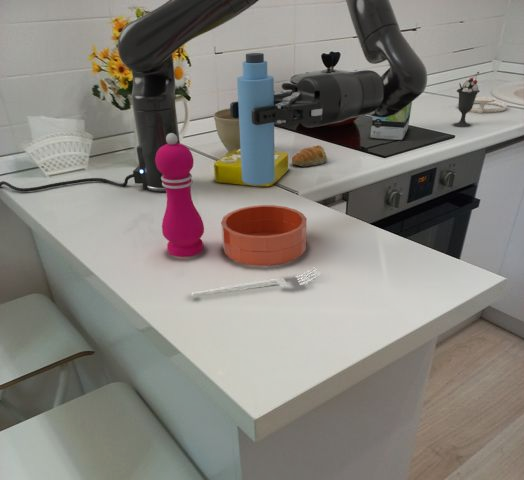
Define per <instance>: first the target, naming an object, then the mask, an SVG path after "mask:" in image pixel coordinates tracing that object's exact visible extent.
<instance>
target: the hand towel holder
mask: <svg viewBox="0 0 524 480" xmlns="http://www.w3.org/2000/svg"><path fill="white" fill-rule="evenodd" d="M474 104H476V105H479V106H478V107H472V109H471V110H470V111H469V112H473V113H478V114H483V113H499V112H504V111H506V110H507V109H508V105H507V104H506V103H503V102H500V101H497V99H496V98H495V97H492V96H476V98H475V101H474ZM474 104H473V105H474ZM485 105H492V106H497V108H485Z"/></svg>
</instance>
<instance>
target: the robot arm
mask: <svg viewBox="0 0 524 480" xmlns="http://www.w3.org/2000/svg"><path fill="white" fill-rule="evenodd" d="M259 1H260V0H167V1H166V2H165V3H163V4H161V5H160V6H158V7H157V8H155V9H153V10H151V11H150V12H148V13H146V14H144V15H142V16H140V17H138V18H136V19H135V20H132V21H129V22H128V23H127V24H126V25H125V26H124V27H123V28H122V30H121V32H120V33H119V36H118V40H117V52H118V56H119V59H120V61H121V62H122V64H123V65H124V66H125V67H126V68H127V69H129V70H130V71H131V76H132V90H131V91H132V92H131V95H130V99H131V105H132V106H131V107H132V111H133V117H134V123H135V129H136V134H137V135H136V136H137V141H138V145H137V146H136V155H137V160H138V165H137V167H135V168H134V170H132V173H131V174H129V175H127V176H126V177H125V178H124V182H123V183H117V182H115V181H112V180H110V179H107V178H103V177H89V178H87V177H86V178H78V179H73V180H66V181H60V182H54V183H49V184H44V185H39V186H34V187H17V186H14V185H13V184H11V183H9V182H7V181H4V180H2V181H0V188H1V187H2V186H7V187H8V188H10V189H12V190H13V191H17V192H22V193H23V192H25V193H26V192H34V191H40V190H46V189H50V188H55V187H60V186H67V185H74V184H79V183H80V184H81V183H88V182H89V183H90V182H103V183H107V184H110V185H112V186H116V187H122V188H124V187H126V186H127V185H128V184H129V182H128V181H129V180H130V179H132V178H133V180H134V184H138V185H139V184H142V189H143V190H147V191H151V192H157V193H164V192H166V189H165V187H164V186H163V185H162V180H161V177H162V175H163V174H162V173H161V172H160V171H159V170H158V168H157V166H156V161H155V159H156V153H157V151H158V150H159V149H160V148H161V147H162V146H163V145H166V144H168V143H167V141H166V137H167V135H168V134H170V133H173V134H175V135H176V136H177V139H178V141H177V143H179V144H181V139H180V132H179V124H178V123H179V121H178V115H177V107H176V77H175V75H176V74H175V66H174V65H175V64H174V56H173V54H174V53H175V52H177V51H178V50H179V49H181V48H182V47H183V46H184V45H185V44H187V43H188V42H190V41H192V40H193V39H196V38H197V37H200V36H201V35H203V34H206V33H208V32H210V31H213V30H214V29H216V28H218V27H220V26H222V25H224V24H226V23H227V22H229V21H231V20H233V19H234V18H236V17H237V16H240V15H241V14H242V13H243V12H245V11H247V10H248V9H249V8H251V7H253V6H254V5H256V4H257V3H258V2H259ZM345 3H346V6H347V10H348V12H349V17H350V19H351V22H352V26H353V28H354V31H355V34H356V37H357V40H358V42H359V45H360V48H361V51H362V54H363V56H364V58H365V60H366V61H367V62H368V63H370V64H373V65H376V64H381V63H383V62H385V61H387V62H388V65H389V68H388V69H387V70H385V72H384V73H382V75H380V74H379V73H378V72H376V71H374V70H371V69H370V70H369V69H364V70H355V71H347V72H343V71H342V72H341V71H336V72H328V73H322V74H315V75H307V76H303V77H302V78H300V79H299V80H298V82H297V83H296V85H295V88H294V90H292V89H282V90H281V91H278V92H275V90H274V106H273V105H271V106H265V107H259V108H254V109H253V110H252V123H253V124H254V125H261V124H267V123H272V122H274V123H276V124H279V125H281V124H282V123H285V124H286V125H288V126H292V125H298V124H301V125H302V126H303V127H305V128H307V129H309V128H312V129H313V128H318V127H321V126H327V125H331V124H337V123H341V122H344V121H345V122H346V121H347V120H350V119H353V118H359V117H363V116H364V117H365V116H368V117H373V116H374V117H381V118H385V117H389V116H392V115H395V114H397V113H398V112H400V111H401V110H402V109H404V108H405V107H406V106H407V105H408V104H410V103H411V102H412V103H413V101H415V100H416V99H418V98H419V97H420V96H421V95H422V94H423V93H424V91H425V90H426V88H427V85H428V71H427V67H426V66H425V64H424V62H423V61H422V59H421V58H420V56H419V55H418V54H417V53H416V51H415V50H414V49H413V47H412V46H411V45H410V43H409V42H408V41H407V39H406V37H405V36H404V35H403V33H402V31H401V28H400V25H399V23H398V20H397V18H396V17H397V16H396V14H395V12H394V9H393V7H392V4H391V2H390V0H345ZM229 108H230V112H231V117H233V118H239V107H238V100H237V101H232V102H231V103H230V104H229Z"/></svg>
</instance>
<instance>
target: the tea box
mask: <svg viewBox="0 0 524 480" xmlns="http://www.w3.org/2000/svg"><path fill="white" fill-rule="evenodd" d="M412 105H413V101H412V102H411V103H410V104H408V105H407V106H406V107H405V108H404V109H402V110H401V111H400V112H398V113H397V114H395V115H392V116H389V117H385V118H381V117H374V116H372V119H371V128H370V136H369V138H371V139H376V140H377V139H379V140H393V141H394V140H395V141H396V140H397V141H403V139H404V138H405V135H406V133H407V131H408V129H409V124H410V118H411V111H412Z"/></svg>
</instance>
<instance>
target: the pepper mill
mask: <svg viewBox="0 0 524 480" xmlns="http://www.w3.org/2000/svg"><path fill="white" fill-rule="evenodd" d="M166 141H167V143H168V144H166V145H163V146H162V147H161V148H160V149H159V150H158V151H157V153H156V159H155V161H156V166H157V168H158V170H159V171H160V172H161V173H162V174H163V175H162V177H161V180H162V185H163V186H164V187H165V189H166V207H165V210H164V214H163V217H162V221H161V222H162V223H161V232H162V235H163V237H164V238H165V240H166V241H168V242H167V245H166V247H167V253H168V254H169V255H170V256H173V257H176V258H188V257H194V256H196V255H197V256H198V254H200V253H202V252H203V251H204V242H203V240H202V239H201V238H202V237H203V235H204V233H205V226H204V221H203V218H202V216H201V215H200V213H199V211H198V209H197V208H196V207H195V205H194V201H193V199H192V192H191V186H192V185H193V180H192V178H193V175H192V173H190V172H191V171H192V169H193V167H194V156H193V154H192V152H191V150H190V148H188V147H187V146H186V145H184V144H182V143H180V144H179V143H177V141H178V139H177V136H176V135H175V134H173V133H170V134H168V135H167V137H166Z"/></svg>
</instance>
